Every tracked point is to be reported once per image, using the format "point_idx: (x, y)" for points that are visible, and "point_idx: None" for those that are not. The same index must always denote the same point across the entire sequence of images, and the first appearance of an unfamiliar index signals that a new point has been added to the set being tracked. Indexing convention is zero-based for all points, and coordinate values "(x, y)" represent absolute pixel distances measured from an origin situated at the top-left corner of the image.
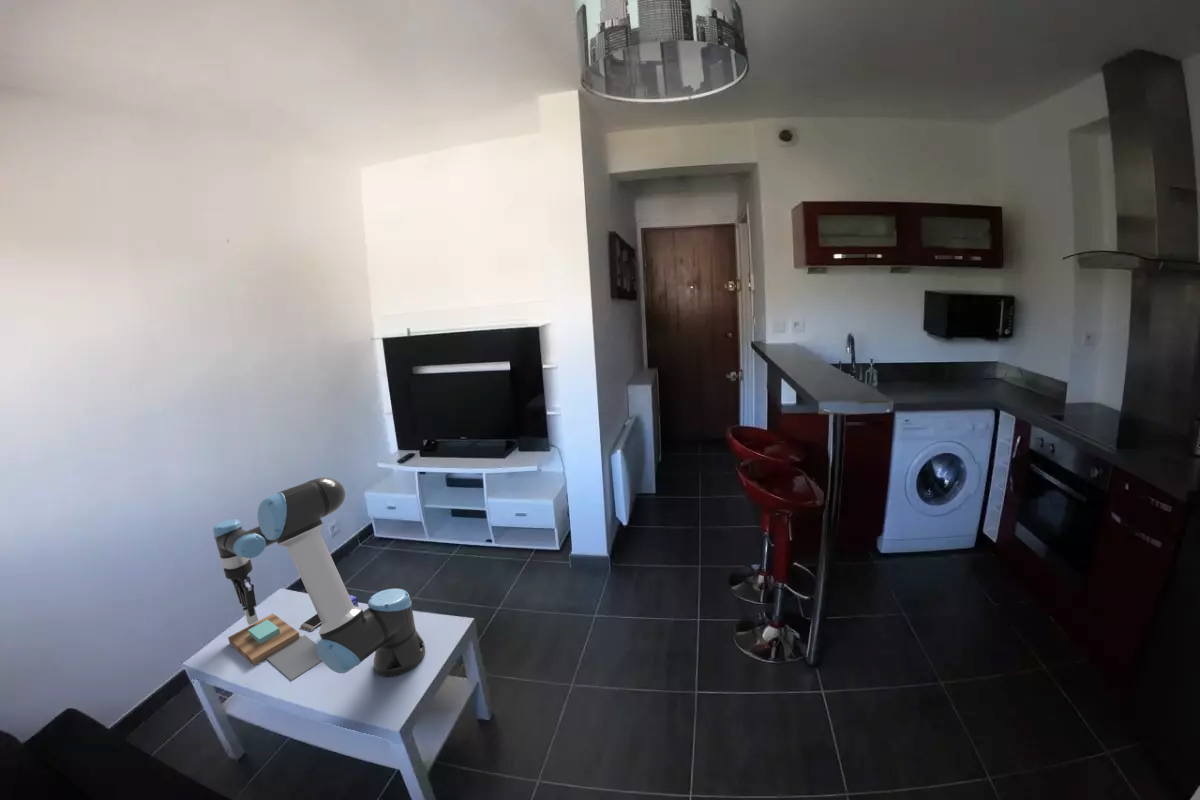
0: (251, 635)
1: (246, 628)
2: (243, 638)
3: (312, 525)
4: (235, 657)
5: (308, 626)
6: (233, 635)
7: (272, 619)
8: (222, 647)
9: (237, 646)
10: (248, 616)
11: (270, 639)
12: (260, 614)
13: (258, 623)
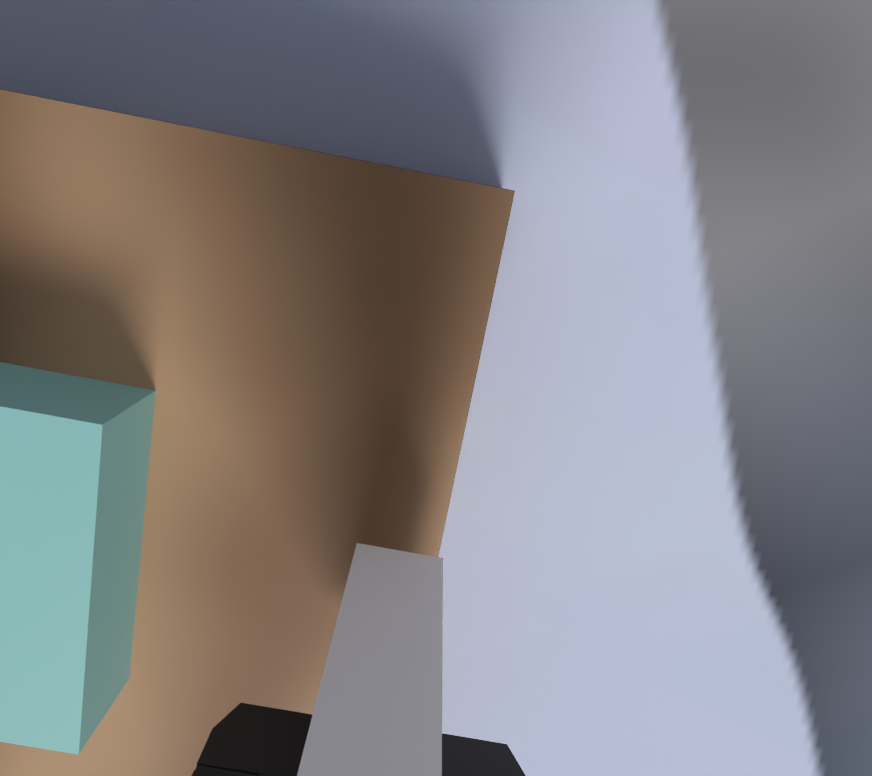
0: (36, 378)
1: (422, 482)
2: (154, 283)
3: None
4: (10, 4)
5: None
6: (459, 268)
7: None
8: (529, 83)
9: (23, 94)
10: (318, 693)
11: None
12: (722, 773)
13: None
